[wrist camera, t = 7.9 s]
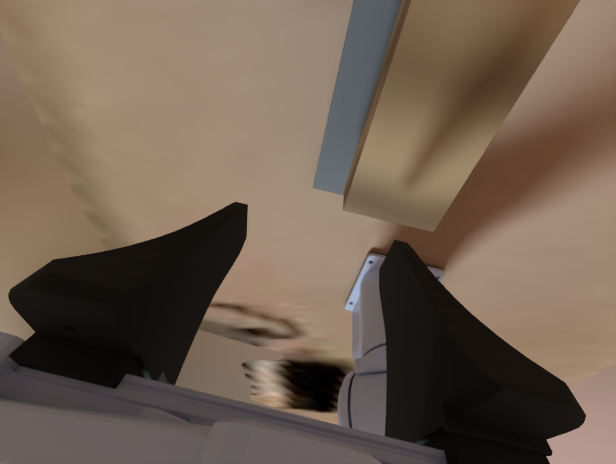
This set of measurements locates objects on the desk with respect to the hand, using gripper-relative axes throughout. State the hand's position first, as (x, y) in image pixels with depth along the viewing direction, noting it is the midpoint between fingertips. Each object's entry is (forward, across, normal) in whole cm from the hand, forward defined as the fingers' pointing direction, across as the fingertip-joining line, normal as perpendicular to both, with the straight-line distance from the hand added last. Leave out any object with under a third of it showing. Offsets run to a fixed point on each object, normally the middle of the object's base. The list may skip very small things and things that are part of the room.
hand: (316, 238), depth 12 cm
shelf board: (+6, -4, -7) cm, 10 cm away
